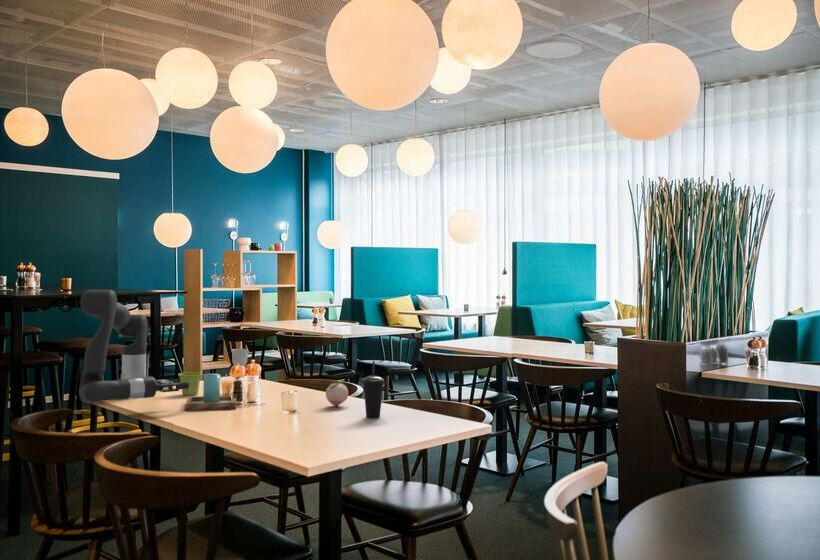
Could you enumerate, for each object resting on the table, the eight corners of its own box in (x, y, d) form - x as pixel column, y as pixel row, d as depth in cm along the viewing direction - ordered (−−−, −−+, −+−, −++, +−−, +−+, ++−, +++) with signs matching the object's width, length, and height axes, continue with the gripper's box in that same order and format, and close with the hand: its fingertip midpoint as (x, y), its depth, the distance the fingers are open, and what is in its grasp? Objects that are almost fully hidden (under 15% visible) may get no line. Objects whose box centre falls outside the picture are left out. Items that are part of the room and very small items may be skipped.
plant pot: (194, 397, 305) (194, 375, 305) (173, 395, 308) (173, 374, 308) (206, 393, 314) (206, 372, 314) (186, 392, 317) (186, 371, 317)
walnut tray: (185, 410, 275) (185, 403, 275) (188, 403, 291) (188, 396, 291) (235, 409, 279) (235, 402, 279) (236, 402, 294) (236, 395, 294)
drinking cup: (360, 418, 263) (360, 362, 263) (364, 414, 271) (365, 359, 271) (381, 419, 262) (382, 362, 262) (385, 415, 270) (386, 360, 270)
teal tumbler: (202, 405, 281) (203, 375, 281) (203, 402, 287) (203, 373, 287) (219, 404, 282) (219, 375, 282) (219, 402, 288) (220, 373, 288)
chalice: (250, 390, 323) (250, 348, 323) (245, 393, 316) (245, 350, 316) (233, 390, 324) (234, 348, 324) (228, 392, 317) (228, 350, 317)
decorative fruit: (343, 409, 281) (343, 382, 281) (323, 408, 283) (323, 381, 283) (351, 405, 291) (351, 379, 290) (331, 404, 292) (331, 378, 292)
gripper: (147, 379, 262) (191, 376, 272) (133, 375, 273) (176, 371, 283) (147, 401, 262) (191, 396, 272) (133, 395, 273) (176, 391, 283)
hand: (183, 383), depth 278 cm, fingers open, 8 cm apart
